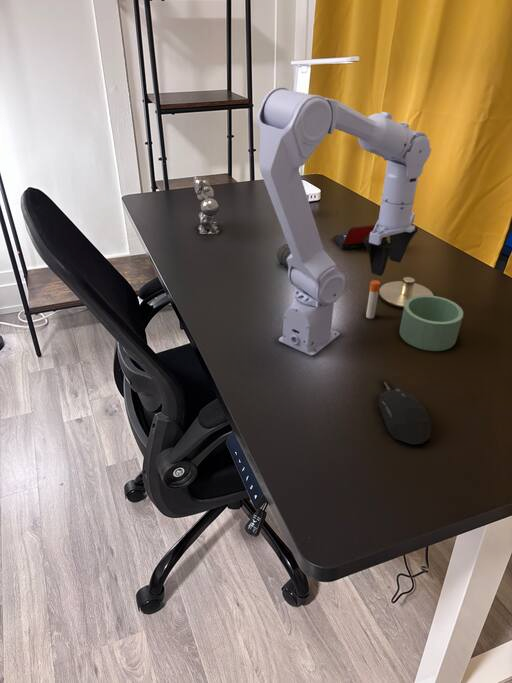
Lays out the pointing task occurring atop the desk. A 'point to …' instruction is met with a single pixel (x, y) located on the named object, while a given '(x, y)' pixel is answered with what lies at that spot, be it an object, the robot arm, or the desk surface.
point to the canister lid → (402, 291)
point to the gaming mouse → (404, 416)
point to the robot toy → (206, 205)
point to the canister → (430, 322)
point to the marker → (372, 299)
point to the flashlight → (283, 254)
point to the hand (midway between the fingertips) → (386, 267)
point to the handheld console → (354, 237)
